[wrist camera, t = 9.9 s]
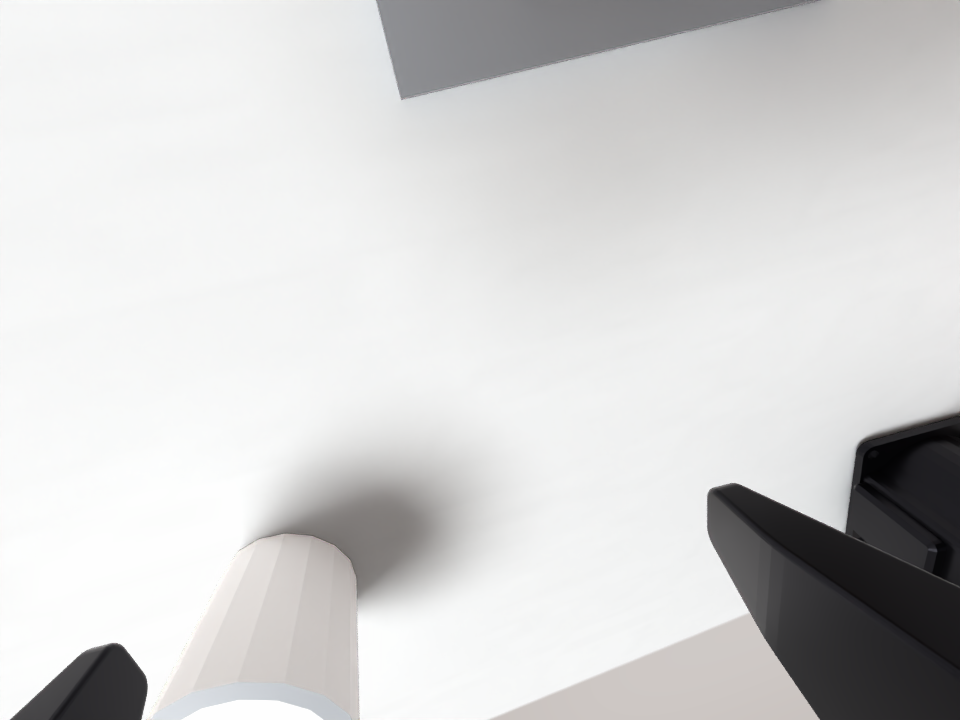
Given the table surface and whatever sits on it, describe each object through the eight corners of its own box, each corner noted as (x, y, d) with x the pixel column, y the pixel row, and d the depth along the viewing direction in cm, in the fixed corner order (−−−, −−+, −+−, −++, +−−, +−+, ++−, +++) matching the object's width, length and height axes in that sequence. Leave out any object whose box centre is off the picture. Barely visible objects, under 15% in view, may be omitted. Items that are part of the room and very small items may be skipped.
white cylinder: (393, 544, 23) (390, 703, 16) (340, 647, 25) (320, 823, 19) (233, 504, 21) (160, 668, 14) (190, 620, 23) (111, 807, 17)
